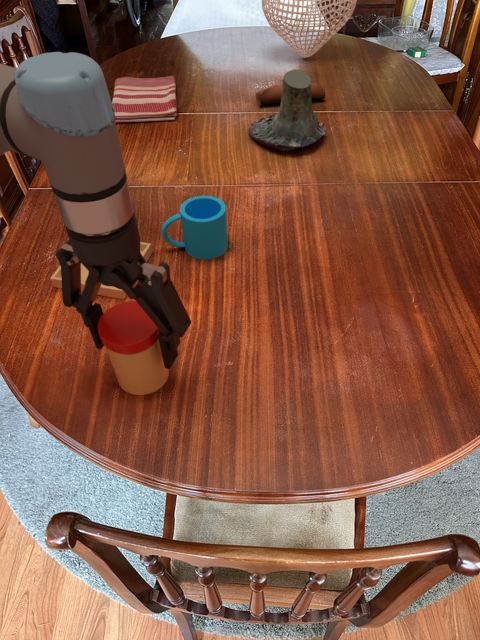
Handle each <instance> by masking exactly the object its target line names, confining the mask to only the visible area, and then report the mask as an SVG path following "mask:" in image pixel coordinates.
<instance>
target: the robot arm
mask: <svg viewBox="0 0 480 640" xmlns="http://www.w3.org/2000/svg"><path fill="white" fill-rule="evenodd" d="M117 128H118V127H117V123H116V122H115V111H114V106H113V103H112V100H111V96H110V91H109V90H108V85H107V82H106V77H105V75H104V72H103V70H102V68H101V66H100V65H99V63H98V62H97V61H95V60H94V59H93V58H92V57H89V56H88V55H86V54H83V53H79V52H74V51H73V52H72V51H69V52H61V51H52V52H44V53H39V54H36V55H34V56H30V57H28V58H26V59H24V60H23V61H22V62H20V63H19V65H17V67H14V66H10V65H7V64H3V63H0V156H2V155H4V154H6V153H8V152H14V153H16V154H19V155H23V156H24V157H25V156H26V157H28V158H30V159H36V160H40V162H41V163H42V165H43V168H44V171H45V173H46V176H47V179H48V182H49V185H50V187H51V190H52V193H53V195H54V199H55V202H56V205H57V208H58V211H59V214H60V218H61V221H62V223H63V225H64V226H65V231H66V234H67V237H68V240H66V241H65V242H64V243H63V245H61V247H59V249H58V250H57V251H55V257H56V259H57V262H58V263H59V266H61V279H62V288H61V296H62V304H63V306H65V307H66V308H68V309H69V308H71V307H73V308H75V310H76V312H77V313H78V314H80V315H81V318H82V322H83V324H84V326H85V327H86V328H88V329H89V331H90V335H91V337H92V340H93V343H94V345H95V349H97V350H102V349H103V348H104V347H105V345H104V344H103V343H102V340H101V339H100V336H99V331H98V322H99V319H100V318H101V316H102V315H103V313H104V311H103V308H102V305H101V303H97V302H95V301H96V299H97V296H98V295H97V293H98V291H99V289H100V287H101V284H102V285H105V286H113V287H116V288H118V289H121V290H123V291H124V292H125V293H126V297H128V298H129V300H134V301H136V302H137V303H138V304H139V305H140V307H141V308H142V309H143V310H144V311H145V313H146V314H147V315H148V316H149V318H150V319H151V320H152V321H153V322H154V324H155V325H156V326H157V327H158V329H159V330H160V331H161V332H160V333H159V335H158V340H159V344H160V348H161V353H162V357H163V362H164V366H165V368H167V369H169V370H170V369H171V368H172V367H173V364H174V363H175V361H176V360H177V359H178V356H179V352H178V348H179V346H180V344H181V338H183V337H184V336H185V334H186V333H187V331H188V329H189V328H190V327H191V324H192V320H191V318H190V316H189V314H188V311H187V309H186V308H185V307H186V306H184V303H183V301H182V299H181V297H180V296H179V293H178V291H177V289H176V287H175V285H174V283H173V280H172V278H171V270H170V266H169V264H168V263H167V262H165V261H161V262H160V263H159V264H158V265H155V264H152V263H150V262H149V263H148V262H146V260H145V259H144V257H143V256H142V254H141V252H140V242H141V236H140V230H139V226H138V221H137V215H136V214H135V212H134V209H135V208H134V204H133V199H132V195H131V190H130V185H129V181H128V176H127V171H126V167H125V161H124V158H123V153H122V148H121V143H120V138H119V134H118V129H117ZM81 263H82V264H83V265H84V267H85V268H86V269H87V270H88V271H89V274H88V277H87V279H86V282H85V284H86V285H85V287H84V290H83V292H81ZM136 282H137V283H136ZM134 285H135V286H134ZM133 286H134V287H133ZM93 303H94V304H93Z"/></svg>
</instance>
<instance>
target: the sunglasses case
mask: <svg viewBox="0 0 480 640" xmlns="http://www.w3.org/2000/svg"><path fill="white" fill-rule="evenodd" d="M282 84H283V83H281V84H275V85H271V86H269V87H267V88H264V89H261V90H259V91H258V92H256V93H255V99H256V101H257V104H258V106H259V107H261V106H267V105H271V104H272V105H273V104H276V103H281V97H282V91H283V86H282ZM311 98H312V100H316V99H323V100H325V99H326V89H325V87H324V85H323V84H320V83H316V82H311Z"/></svg>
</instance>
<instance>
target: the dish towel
mask: <svg viewBox="0 0 480 640" xmlns="http://www.w3.org/2000/svg"><path fill="white" fill-rule="evenodd" d="M176 83H177V82H176V78H175V75H168V76H167V75H166V76H162V77H161V76H160V77H153V78H151V77H144V78H143V77H142V78H141V77H132V76H125V77H118V78H116V79H115V80H114V88H113V89H114V90H113V95H112V96H113V97H112V100H111V102H112V103H113V106H114V111H115V122H116V124H118V123H145V122H146V123H147V122H165V121H175V120H176V118H177V114H178V104H177V103H178V102H177V93H176V86H177V84H176Z"/></svg>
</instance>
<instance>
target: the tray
mask: <svg viewBox="0 0 480 640" xmlns="http://www.w3.org/2000/svg"><path fill="white" fill-rule="evenodd" d="M140 252H141V254H142V256H143V257H144V259H145V260H146V263H148V262H149V259H150V258H151V257H152V254H153V247H152V243H149V242H143V241H140ZM88 274H89V271H88V270H87V269H86V268H85V267H84V265H83V264H82V263H81V293H82V292H83V290H84V287H85V285H86V284H85V282H86V279H87V277H88ZM49 280H50V282H51V285H52V286H53V288H57V289H62V279H61V266H60V265H59V266H58V267H57V269H56V270H55V271H54V273H53V274H52V275H51V276H50V278H49ZM97 296H104V297H108V298H112V299H113V298H114V299H119V300H125V299H126V297H127V295H126V293H125V292H124V291H123V290H121V289H118V288H116V287H113V286H105V285H102V284H101V287H100V289H99V291H98V293H97Z"/></svg>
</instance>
